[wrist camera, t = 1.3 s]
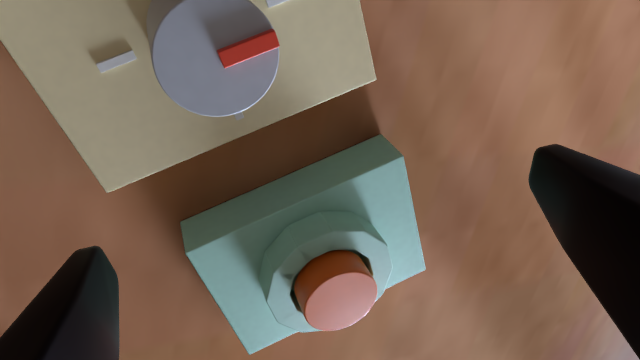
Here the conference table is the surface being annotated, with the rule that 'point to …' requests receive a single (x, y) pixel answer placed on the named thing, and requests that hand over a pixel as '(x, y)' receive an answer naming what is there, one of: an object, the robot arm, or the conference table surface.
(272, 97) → the lock panel
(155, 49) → the lock dial
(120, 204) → the conference table surface
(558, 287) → the conference table surface
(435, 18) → the conference table surface
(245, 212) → the button base
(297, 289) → the orange round puck
